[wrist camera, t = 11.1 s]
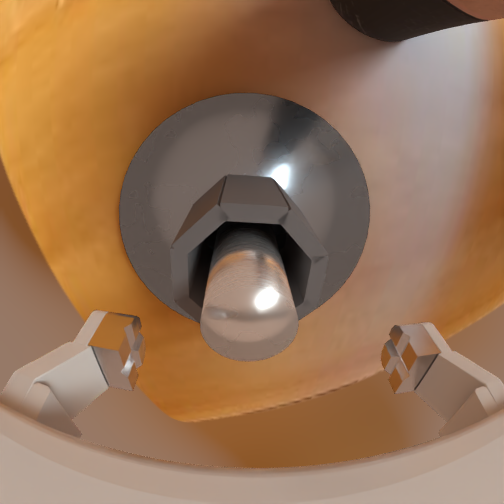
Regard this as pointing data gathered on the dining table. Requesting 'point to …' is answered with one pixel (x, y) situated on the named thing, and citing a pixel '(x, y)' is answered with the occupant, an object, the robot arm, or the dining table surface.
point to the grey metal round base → (244, 233)
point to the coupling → (255, 211)
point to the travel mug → (414, 15)
